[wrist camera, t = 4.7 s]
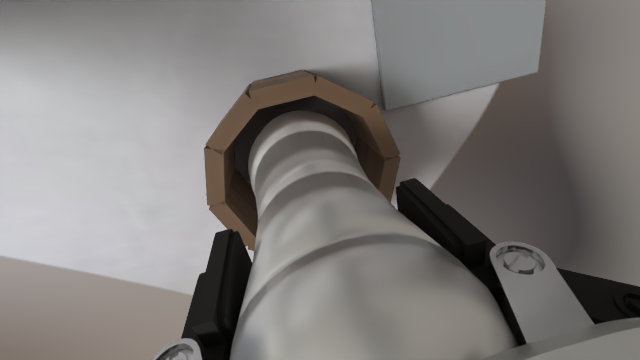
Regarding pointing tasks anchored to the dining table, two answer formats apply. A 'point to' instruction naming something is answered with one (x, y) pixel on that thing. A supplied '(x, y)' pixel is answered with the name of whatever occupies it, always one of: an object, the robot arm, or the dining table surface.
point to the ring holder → (365, 117)
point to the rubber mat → (453, 45)
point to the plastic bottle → (349, 264)
